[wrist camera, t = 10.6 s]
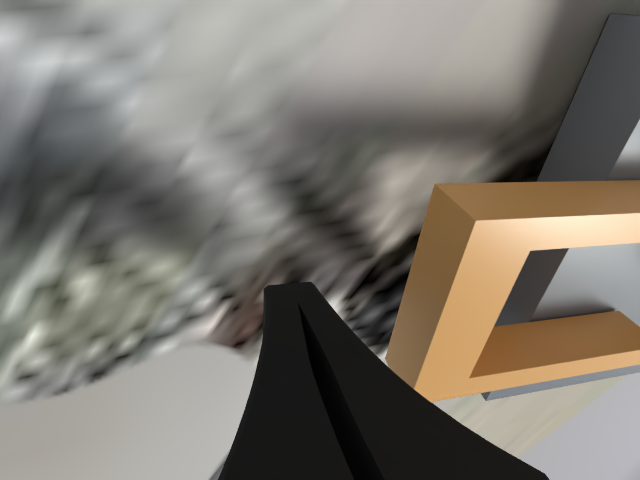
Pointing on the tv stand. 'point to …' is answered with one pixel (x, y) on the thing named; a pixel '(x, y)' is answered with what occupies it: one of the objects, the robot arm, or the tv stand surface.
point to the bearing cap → (507, 287)
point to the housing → (589, 165)
